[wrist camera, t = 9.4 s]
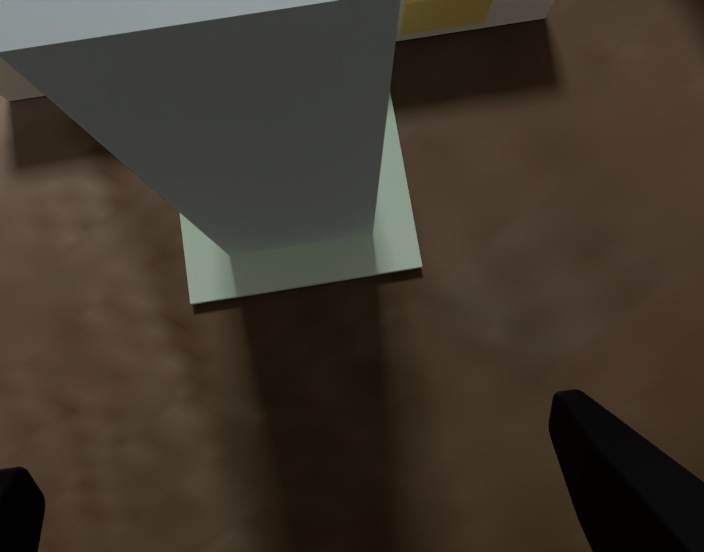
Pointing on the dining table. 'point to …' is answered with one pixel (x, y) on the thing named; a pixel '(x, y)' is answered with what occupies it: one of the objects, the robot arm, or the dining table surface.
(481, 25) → the rail
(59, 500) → the dining table surface
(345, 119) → the tea tin
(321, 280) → the pad
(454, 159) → the dining table surface
